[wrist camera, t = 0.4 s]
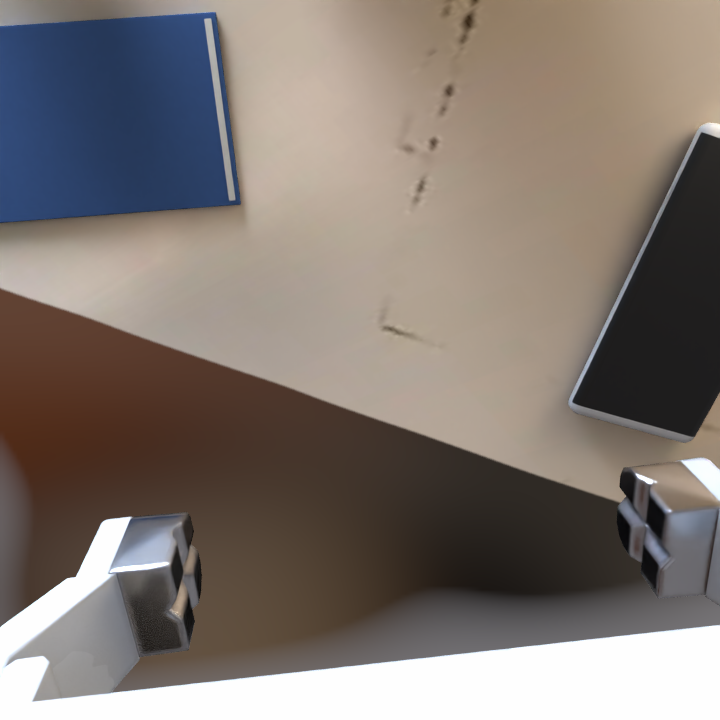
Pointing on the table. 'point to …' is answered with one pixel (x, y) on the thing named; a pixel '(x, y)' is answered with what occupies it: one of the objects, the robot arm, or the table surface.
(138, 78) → the cloth
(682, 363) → the smartphone
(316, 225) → the table surface
